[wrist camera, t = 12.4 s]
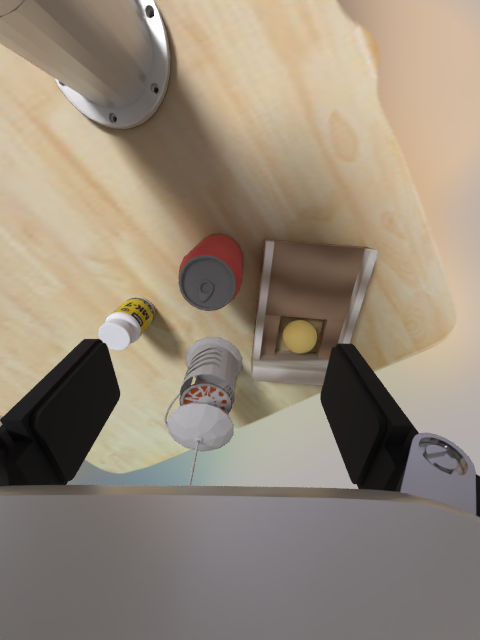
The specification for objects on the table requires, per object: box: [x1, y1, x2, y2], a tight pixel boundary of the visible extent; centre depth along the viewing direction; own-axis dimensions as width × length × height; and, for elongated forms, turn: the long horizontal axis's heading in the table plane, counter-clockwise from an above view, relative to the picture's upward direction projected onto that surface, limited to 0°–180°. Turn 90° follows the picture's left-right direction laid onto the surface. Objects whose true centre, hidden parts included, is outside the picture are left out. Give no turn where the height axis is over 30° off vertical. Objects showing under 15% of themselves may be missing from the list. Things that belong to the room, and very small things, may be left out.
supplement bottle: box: [98, 297, 155, 350], centre depth 34 cm, size 5×5×8 cm
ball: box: [283, 320, 317, 353], centre depth 37 cm, size 5×5×5 cm
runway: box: [251, 239, 378, 386], centre depth 35 cm, size 20×14×5 cm
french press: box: [165, 337, 242, 486], centre depth 31 cm, size 10×12×25 cm
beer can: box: [179, 234, 243, 311], centre depth 29 cm, size 7×7×12 cm
